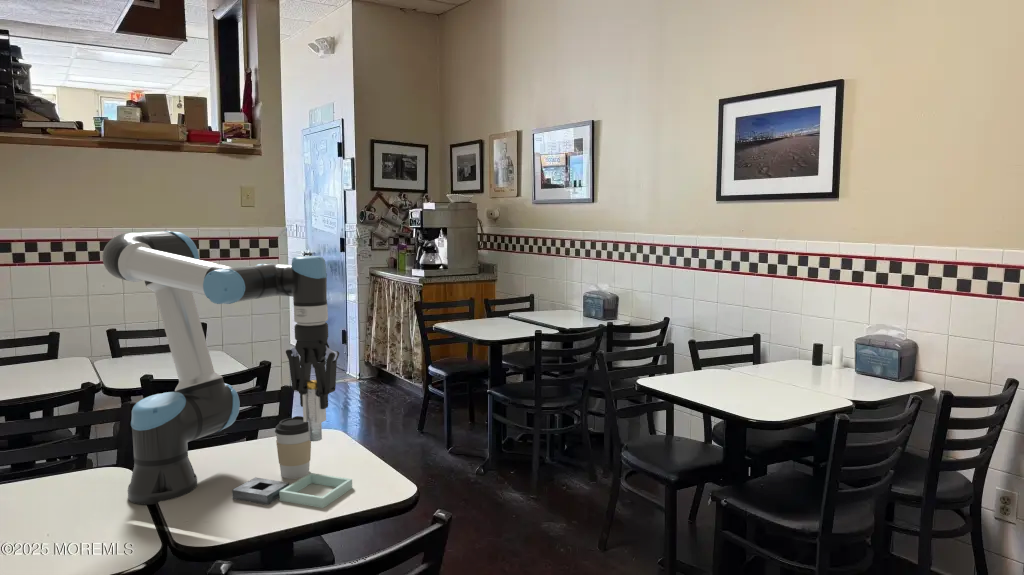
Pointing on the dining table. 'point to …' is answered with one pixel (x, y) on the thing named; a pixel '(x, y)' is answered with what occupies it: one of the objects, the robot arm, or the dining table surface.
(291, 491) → the tray
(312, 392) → the pin
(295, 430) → the coffee cup
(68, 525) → the dining table surface
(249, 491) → the block
